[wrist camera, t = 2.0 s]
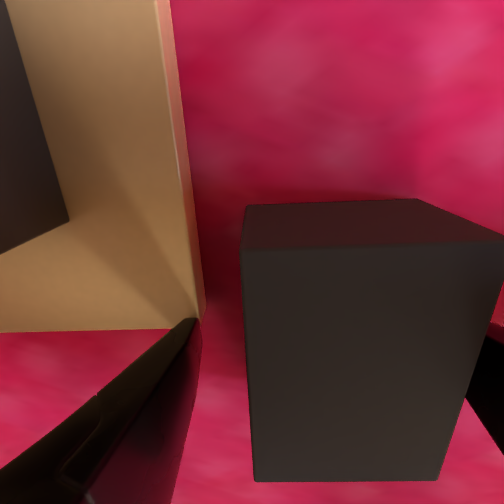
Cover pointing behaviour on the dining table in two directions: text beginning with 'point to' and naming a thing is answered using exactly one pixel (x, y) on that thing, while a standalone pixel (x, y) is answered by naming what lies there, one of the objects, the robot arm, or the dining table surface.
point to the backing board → (94, 170)
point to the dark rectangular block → (361, 335)
